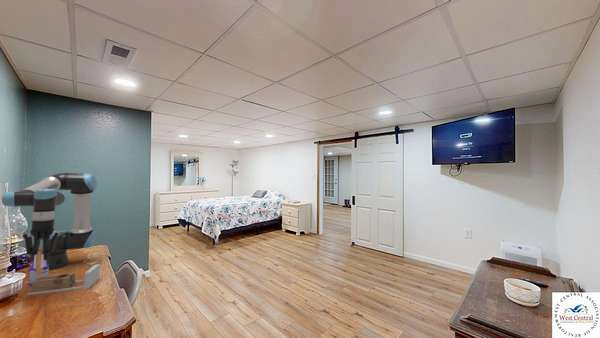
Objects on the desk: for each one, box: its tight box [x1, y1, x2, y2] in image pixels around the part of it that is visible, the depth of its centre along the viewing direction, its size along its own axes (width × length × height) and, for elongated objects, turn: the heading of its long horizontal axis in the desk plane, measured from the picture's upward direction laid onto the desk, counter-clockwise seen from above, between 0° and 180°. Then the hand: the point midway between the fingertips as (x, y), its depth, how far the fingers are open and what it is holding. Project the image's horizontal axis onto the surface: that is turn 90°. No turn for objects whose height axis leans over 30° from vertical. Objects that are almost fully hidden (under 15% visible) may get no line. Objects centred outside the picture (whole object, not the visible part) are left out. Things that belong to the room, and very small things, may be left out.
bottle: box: [28, 260, 50, 286], centre depth 132 cm, size 7×6×17 cm
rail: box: [26, 263, 101, 296], centre depth 127 cm, size 13×26×10 cm, turn 113°
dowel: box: [36, 249, 44, 276], centre depth 116 cm, size 2×2×12 cm
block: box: [30, 272, 76, 292], centre depth 125 cm, size 8×14×6 cm, turn 113°
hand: (39, 267), depth 116 cm, fingers closed on dowel, 2 cm apart
